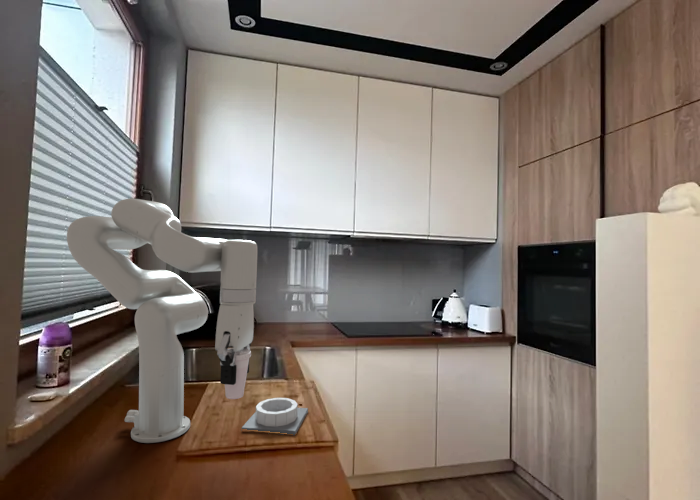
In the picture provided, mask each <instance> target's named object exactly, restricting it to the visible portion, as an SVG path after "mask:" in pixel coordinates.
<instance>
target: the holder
mask: <svg viewBox="0 0 700 500" xmlns="http://www.w3.org/2000/svg"><path fill="white" fill-rule="evenodd" d="M308 413H309V408H308V407H298V402H296V400H295V399H291V398H287V397H273V398H267V399H264V400H261V401H260V402H258V403H257V405H256V406H255V412H254V413H253V414H252V415H251V416H250V417H249V418H248V420H247V421H246V422H245V423H244V424H243V425H242V426H241V430H242V429H247V430H258V431H270V432H280V433H287V434H293V435H292V436H296V435H295V434H297V433H298V431H299V430H300V427H301V426H302V424H303V421H304V420H305V419H306V417H307V414H308Z"/></svg>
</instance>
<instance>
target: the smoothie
mask: <svg viewBox="0 0 700 500" xmlns="http://www.w3.org/2000/svg"><path fill="white" fill-rule="evenodd" d="M227 350H233V348H227ZM227 355H229V356H230V358H231V357H232V354H230V353H227ZM251 356H252V351H251V349H250V350H249V349H245V348H242V349H241V350H239V351H238V352H237V355H236V360H235V365H237V368H236V383H235V384H234V385H228V384H224V391H225V392H224V393H225V398H226V399H228V400H237V399H240V398H243V397H244V393H245V389H246V388H245V387H246V383H247V382H246V380H247V375H248V373H247V370H248V364H249V365H250V358H251Z"/></svg>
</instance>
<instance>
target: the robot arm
mask: <svg viewBox="0 0 700 500" xmlns="http://www.w3.org/2000/svg"><path fill="white" fill-rule="evenodd" d="M110 215H111V216H102V215H101V216H99V215H92V216H91V215H90V216H89V215H88V216H82V217H79V218H76V219H75V220H73V222H71V223H70V224H69V225H68V228H67V231H66V243H67V247H68V249H69V252H70V254H71V256H72V258H73V259H74V261H75V262H76V263H77V264H78V265H79V266H80V267H81V268H82V269H83V270H85V271H86V272H87V273H88V274H90V275H91V276H92V277H93V278H95V279H96V280H97V281H98V282H99V284H101V285H102V286H103V287H104V289H106V290H107V291H108V293H109V294H111V296H112V297H113V298H114V299H116V301H117V302H118V303H120V304H121V305H122V306H123V307H125V308H127V309H129V310H136V312H135V314H134V326H135V331H136V335H137V342H138V353H139V355H138V356H139V357H138V361H139V362H138V363H139V364H138V365H139V366H138V367H139V371H138V374H139V376H138V379H139V381H138V383H139V385H138V410H137V409H129V410H128V411H127V413H126V416H125V418H124V422H125V423H133V425H134V427H133V426H132V429H131V431H130V437H131V439H132V440H133V441H135V442H138V443H144V444H154V443H161V442H166V441H169V440H173V439H176V438H178V437H180V436H181V435H184V434H185V433H187V431H188V430H190V427H191V420H190V418H189V417H187V416H186V415H184V404H185V403H184V401H185V398H184V397H185V395H184V394H185V392H184V391H185V390H184V389H185V388H184V386H185V379H184V378H185V374H184V373H185V370H184V369H185V355H184V354H185V352H184V349H183V347H182V346H183V345H182V344H181V342H180V341H179V339H178V336H177V335H180V334H184V333H189V332H191V331H194V330H197V329H199V328H200V327H202V326H204V324H205V323H206V321H207V320H208V318H209V315H208V314H209V309H208V306H207V303H206V302H205V300H204V298H203V297H202V296H201V295H200V294H199V293H197V291H195V290H194V289H193V288H192V287H191V286H190V285H189V284H188V283H187V282H186V281H185V280H184V279H182V277H180V276H179V275H178V274H176V272H175V273H174V272H172V271H170V270H166V269H151V270H150V269H142V268H141V267H138V265H137V264H135V263H133V261H132V260H131V259H130V258H129V257H127V256H126V255H124V254H122V253H120V252H119V251H116V250H124V251H126V250H127V251H128V250H134V249H138V248H141V247H143V246H144V245H147V244H149V245H151V248H152V251H153V252H154V254H155V256H156V257H157V258H158V259H159V260H161V261H162V262H164V263H166V264H168V265H169V266H171V267H173V268H175V269H178V270H180V271H181V272H186V273H187V272H188V273H205V272H220V288H219V289H220V290H219V304H220V305H219V309H218V313H217V321H216V328H215V329H216V331H215V345H214V349H215V351H216V352H217V353H216V355H217V357H218V358H219V365H220V377H219V378H220V384H221V385H225V384H228V385H234V384H235V383H236V368H237V365H235V360H236V355H237V352H238V351H239V350H241V349H242V348H245V349H249V350H250V351H251V344H252V342H253V341H254V331H255V329H254V328H255V323H254V321H255V317H254V316H255V315H254V305H255V304H256V300H257V298H256V297H257V278H258V277H257V275H258V274H257V273H258V271H257V270H258V244H257V243H256V242H255V241H252V240H247V239H245V240H243V239H225V238H214V237H202V236H201V237H200V236H197V237H196V236H191V235H188V234H185V233H184V232H182V224H181V221H180V219H178V218H177V217H176V216H175V215H174V213H173V211H172V210H171V208H170V207H169V206H168V205H166V204H164V203H162V202H157V201H153V200H145V199H140V198H124V199H121V200H119V201H117V202H116V203H115V204H114V205H113V207H112V209H111V213H110ZM232 348H233V350H227V349H232ZM227 353H230V354H232V357H231V358H230V356H229V355H227ZM249 373H250V363H249V364H248V370H247V374H249Z"/></svg>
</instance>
